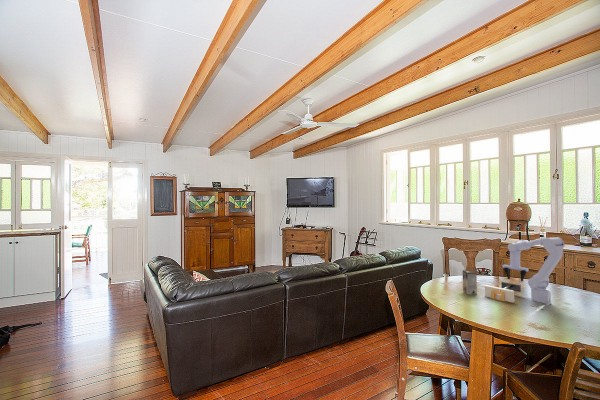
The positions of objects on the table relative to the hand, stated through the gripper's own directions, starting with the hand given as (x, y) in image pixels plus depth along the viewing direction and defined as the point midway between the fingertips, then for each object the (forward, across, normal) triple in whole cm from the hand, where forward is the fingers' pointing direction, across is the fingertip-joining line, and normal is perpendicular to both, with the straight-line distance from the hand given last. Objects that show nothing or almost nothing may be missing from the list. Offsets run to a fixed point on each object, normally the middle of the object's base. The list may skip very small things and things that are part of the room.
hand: (515, 280), depth 200 cm
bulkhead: (+10, -2, -23) cm, 25 cm away
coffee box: (+11, -20, -23) cm, 32 cm away
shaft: (+7, -2, -10) cm, 13 cm away
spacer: (+10, -2, -25) cm, 27 cm away
